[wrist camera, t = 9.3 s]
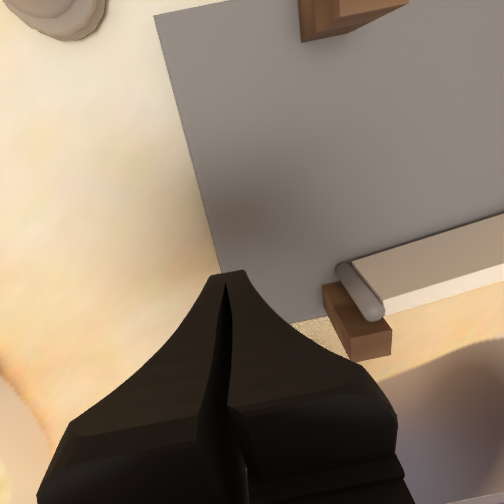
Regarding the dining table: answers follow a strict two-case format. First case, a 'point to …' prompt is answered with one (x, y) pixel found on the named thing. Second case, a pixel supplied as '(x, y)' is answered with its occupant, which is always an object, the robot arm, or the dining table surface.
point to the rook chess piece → (59, 16)
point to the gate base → (336, 134)
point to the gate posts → (335, 294)
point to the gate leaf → (426, 269)
